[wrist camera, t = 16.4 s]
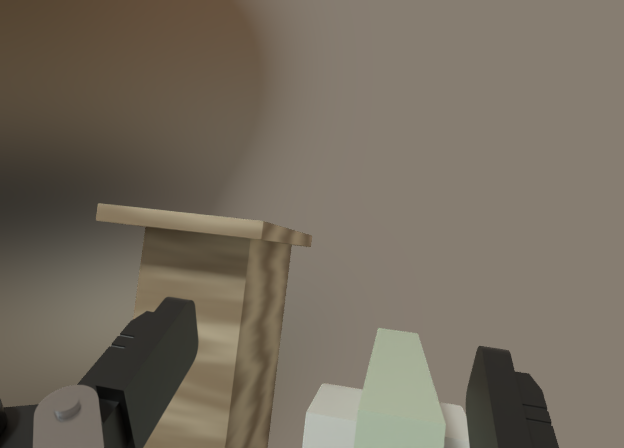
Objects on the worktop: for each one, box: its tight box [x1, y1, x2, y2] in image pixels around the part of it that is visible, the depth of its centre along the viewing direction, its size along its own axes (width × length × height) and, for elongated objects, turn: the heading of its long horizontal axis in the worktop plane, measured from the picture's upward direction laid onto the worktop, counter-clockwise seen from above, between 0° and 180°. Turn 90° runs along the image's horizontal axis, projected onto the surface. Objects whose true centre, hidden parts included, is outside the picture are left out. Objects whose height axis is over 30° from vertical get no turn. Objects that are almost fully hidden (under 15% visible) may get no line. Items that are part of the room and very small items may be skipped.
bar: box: [354, 328, 446, 448], centre depth 31 cm, size 24×4×4 cm, turn 170°
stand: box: [96, 203, 312, 448], centre depth 35 cm, size 17×12×32 cm
